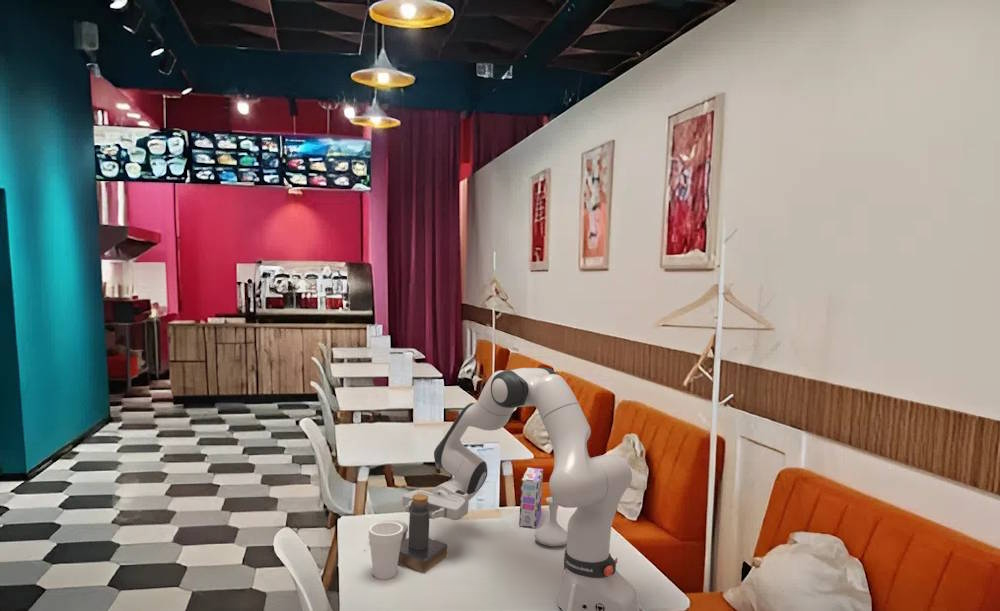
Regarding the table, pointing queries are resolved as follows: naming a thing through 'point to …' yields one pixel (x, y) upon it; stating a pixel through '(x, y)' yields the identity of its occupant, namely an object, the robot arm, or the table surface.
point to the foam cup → (385, 548)
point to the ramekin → (404, 525)
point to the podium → (422, 555)
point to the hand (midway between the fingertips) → (418, 512)
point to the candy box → (531, 497)
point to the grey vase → (551, 528)
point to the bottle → (419, 522)
